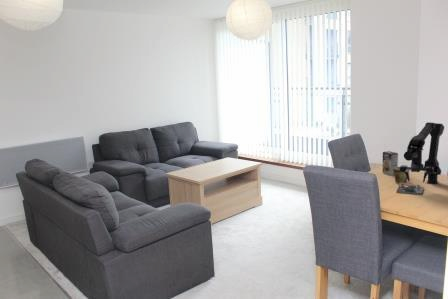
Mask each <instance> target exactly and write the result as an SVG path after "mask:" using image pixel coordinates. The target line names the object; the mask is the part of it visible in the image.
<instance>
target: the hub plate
mask: <svg viewBox="0 0 448 299" xmlns="http://www.w3.org/2000/svg"><path fill="white" fill-rule="evenodd" d="M395 192H396V193H398V194H405V195H407V194H409V195H419V196H421V195H422V194H423V192H424V187H423V186H422V184H420V183H418V184H417V185H416V188H415V189H407V188H404V184H403V183H400V184H399V186H398V187H397V189H396V191H395Z"/></svg>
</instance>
